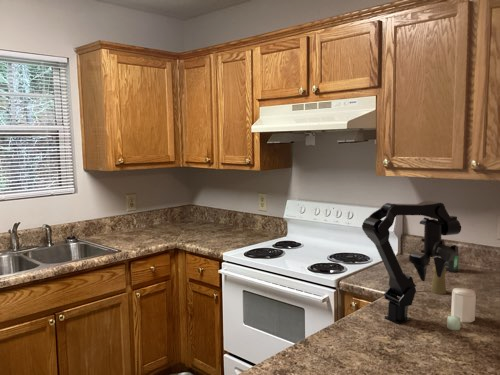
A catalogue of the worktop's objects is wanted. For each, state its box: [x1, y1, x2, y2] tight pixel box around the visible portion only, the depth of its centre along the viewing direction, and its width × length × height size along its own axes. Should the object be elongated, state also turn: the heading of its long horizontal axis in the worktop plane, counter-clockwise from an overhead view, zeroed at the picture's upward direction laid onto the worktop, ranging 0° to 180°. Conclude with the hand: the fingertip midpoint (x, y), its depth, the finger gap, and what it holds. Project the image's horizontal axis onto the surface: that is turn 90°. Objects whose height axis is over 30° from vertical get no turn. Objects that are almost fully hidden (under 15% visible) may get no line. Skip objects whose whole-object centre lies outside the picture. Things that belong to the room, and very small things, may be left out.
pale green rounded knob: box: [446, 315, 462, 331], centre depth 150 cm, size 4×4×4 cm
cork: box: [430, 265, 447, 295], centre depth 185 cm, size 6×6×11 cm
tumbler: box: [450, 287, 477, 323], centre depth 157 cm, size 7×7×10 cm
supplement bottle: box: [445, 244, 460, 273], centre depth 216 cm, size 7×7×12 cm
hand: (431, 279), depth 161 cm, fingers open, 9 cm apart
